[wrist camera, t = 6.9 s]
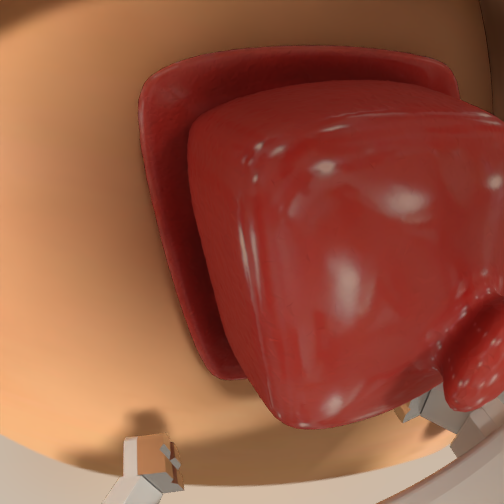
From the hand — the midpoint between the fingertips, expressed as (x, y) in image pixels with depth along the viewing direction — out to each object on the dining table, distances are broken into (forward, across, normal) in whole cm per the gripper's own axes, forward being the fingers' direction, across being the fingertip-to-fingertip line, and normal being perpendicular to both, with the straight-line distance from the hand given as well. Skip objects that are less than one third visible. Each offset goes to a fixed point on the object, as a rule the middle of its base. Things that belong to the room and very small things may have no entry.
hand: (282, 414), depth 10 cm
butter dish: (+4, -4, -5) cm, 7 cm away
